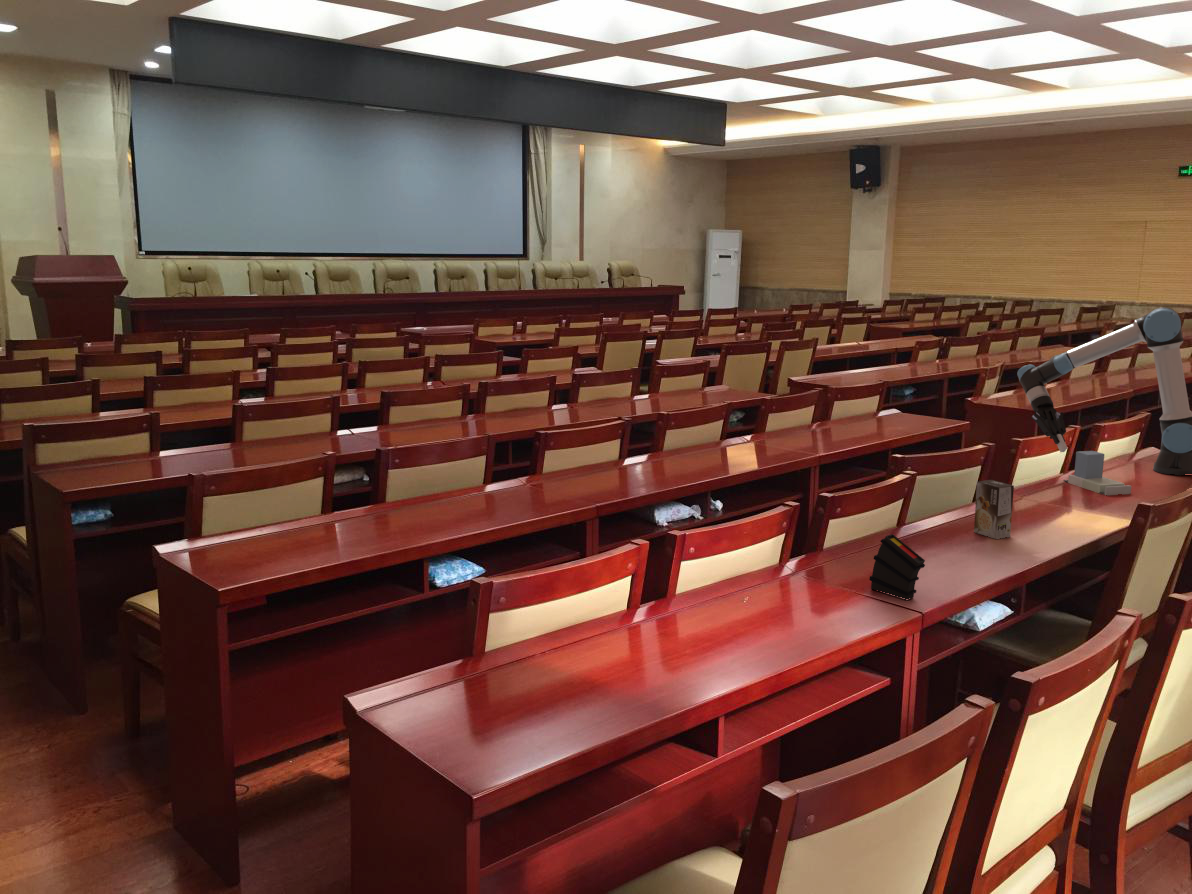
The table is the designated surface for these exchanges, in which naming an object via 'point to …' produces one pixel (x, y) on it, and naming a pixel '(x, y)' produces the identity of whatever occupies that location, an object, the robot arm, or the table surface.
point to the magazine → (896, 568)
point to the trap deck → (1100, 485)
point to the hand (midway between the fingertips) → (1064, 450)
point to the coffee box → (993, 509)
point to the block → (1089, 464)
